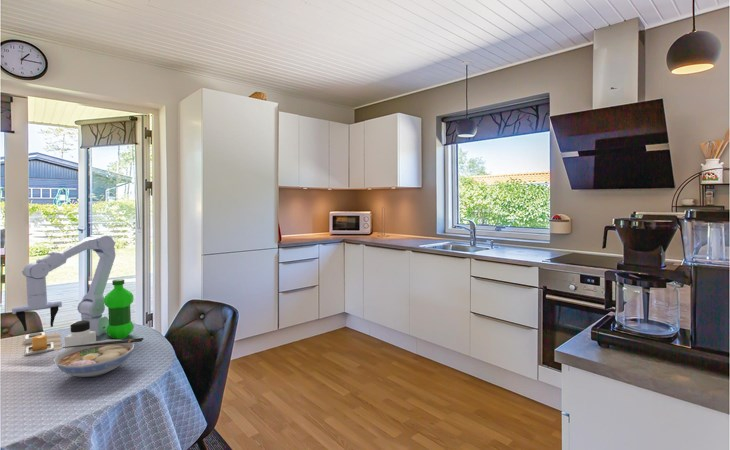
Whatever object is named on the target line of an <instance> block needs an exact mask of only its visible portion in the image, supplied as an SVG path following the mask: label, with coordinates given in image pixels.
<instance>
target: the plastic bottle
mask: <svg viewBox="0 0 730 450" xmlns="http://www.w3.org/2000/svg"><path fill="white" fill-rule="evenodd" d="M111 284H112V286H113V288H112V290H110V291H109V292H108V293H107V294H106V295H105V296H104V305H105V306H106V307H107V311H108V312H107V313H108V319H109V325H108V327H107V329H106V331H107V332H106V334H107V335H108V336H109V337H110V338H112V340H124V339H125V338H128V337H129V335H130V334H131V333H133V331H134V324H133V322H132V316H131V312H132V311H131V305H132V304H133V302H134V294H133V292H131V291H130V290H128V289H126V288H124V285H125V279H124V278H118V279H113V280H112V283H111Z"/></svg>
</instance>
